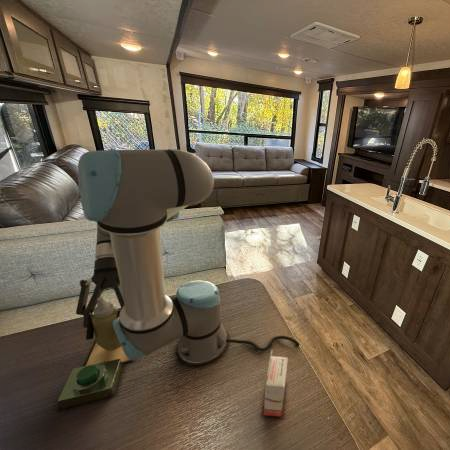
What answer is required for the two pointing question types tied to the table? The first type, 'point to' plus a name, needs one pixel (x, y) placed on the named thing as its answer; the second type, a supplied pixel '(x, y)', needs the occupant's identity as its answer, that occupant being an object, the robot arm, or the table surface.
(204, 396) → the table surface
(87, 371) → the button
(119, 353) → the oak mat
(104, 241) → the robot arm
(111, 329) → the squeeze bottle
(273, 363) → the ink cartridge box
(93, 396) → the green buzzer pad
